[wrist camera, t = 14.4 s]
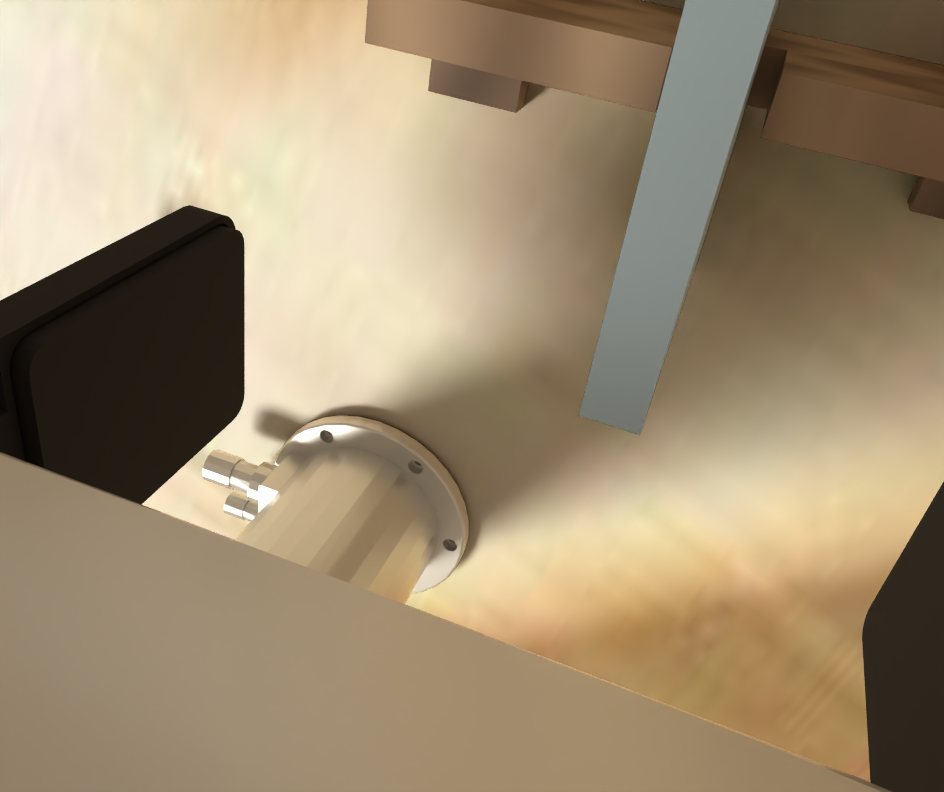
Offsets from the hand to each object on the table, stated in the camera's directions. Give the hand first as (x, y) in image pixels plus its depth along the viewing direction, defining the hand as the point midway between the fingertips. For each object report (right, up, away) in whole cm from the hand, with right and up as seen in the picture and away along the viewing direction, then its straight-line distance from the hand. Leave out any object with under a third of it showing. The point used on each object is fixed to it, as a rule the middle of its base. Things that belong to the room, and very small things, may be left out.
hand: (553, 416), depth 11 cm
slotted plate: (+9, +14, +22) cm, 28 cm away
